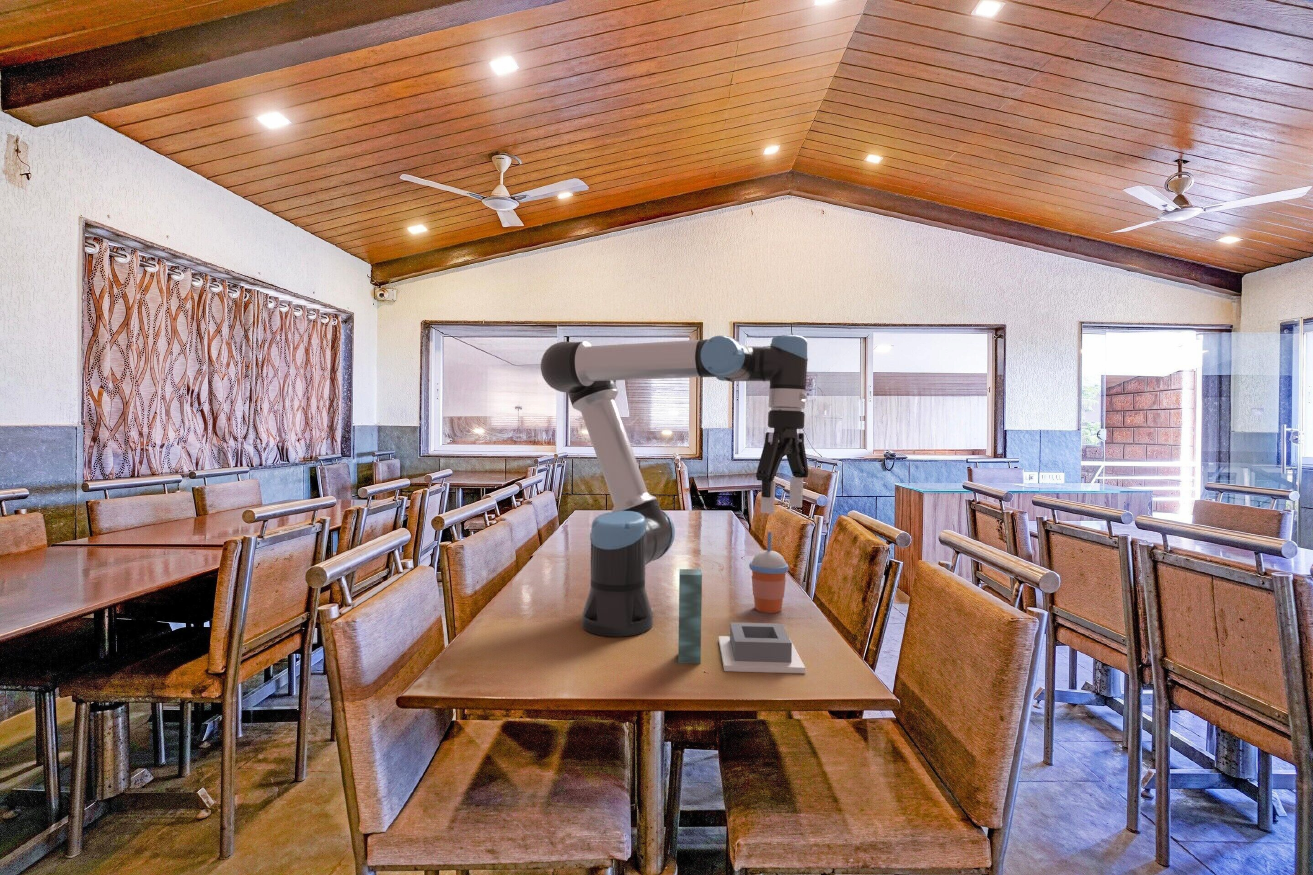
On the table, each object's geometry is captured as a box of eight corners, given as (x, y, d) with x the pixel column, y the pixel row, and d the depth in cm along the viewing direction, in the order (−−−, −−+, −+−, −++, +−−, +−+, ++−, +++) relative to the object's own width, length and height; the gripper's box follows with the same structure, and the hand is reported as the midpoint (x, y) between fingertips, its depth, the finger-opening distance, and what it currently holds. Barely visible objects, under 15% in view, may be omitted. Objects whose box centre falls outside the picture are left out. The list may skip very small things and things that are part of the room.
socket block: (724, 670, 101) (724, 645, 101) (718, 640, 115) (719, 618, 115) (805, 673, 101) (805, 647, 101) (789, 642, 115) (790, 620, 115)
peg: (678, 662, 105) (679, 574, 104) (678, 653, 109) (679, 568, 108) (700, 663, 104) (701, 574, 104) (699, 654, 108) (701, 569, 108)
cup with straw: (791, 615, 131) (793, 536, 131) (751, 615, 131) (752, 535, 131) (783, 603, 140) (785, 529, 140) (746, 602, 140) (747, 528, 140)
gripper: (776, 408, 111) (771, 518, 111) (826, 412, 130) (821, 506, 131) (741, 407, 115) (737, 513, 116) (795, 411, 135) (790, 502, 136)
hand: (782, 509), depth 124 cm, fingers open, 13 cm apart
